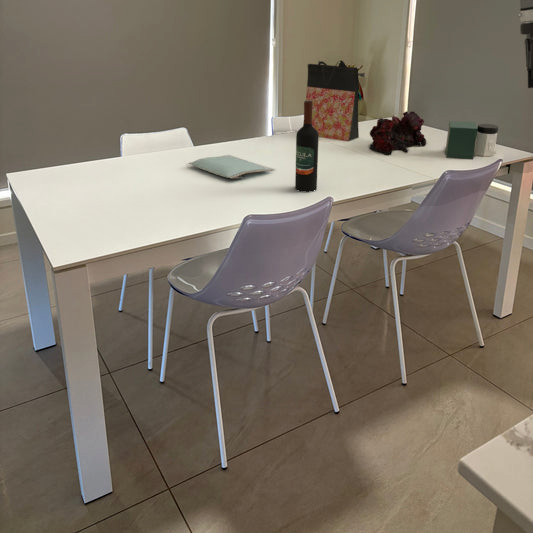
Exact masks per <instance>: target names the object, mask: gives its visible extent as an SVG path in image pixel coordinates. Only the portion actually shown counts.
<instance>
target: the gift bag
mask: <svg viewBox="0 0 533 533" xmlns="http://www.w3.org/2000/svg"><path fill="white" fill-rule="evenodd" d="M365 74H366V73H365V72H360V73H359V70H358V67H356V66H355V67H354V66H347V64H346V63H345V62H344V61H343V60H341V59H340V60H339V61H337V63H336V64H335V65H332V64H331V65H330V64H327V63H326V62H325V61H323V60H321V61H320V60H318V62H317V63H308V64H307V82H306V94H305V101H312V102H313V107H312V126H313V127H314V128H315V129H316V130H317V132H318V134H319V138H324V139H325V138H326V139H332V140H337V141H343V142H350V141H354V140H356V139H358V138H360V136H359V134H360V132H359V77H362V78H365ZM303 124H304V121H303V123H302V125H303Z"/></svg>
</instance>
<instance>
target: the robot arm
mask: <svg viewBox="0 0 533 533" xmlns="http://www.w3.org/2000/svg"><path fill="white" fill-rule="evenodd" d="M519 7H520V8H519V12H520V13H518V17H519V18H520V23H521V24H520V29H519V30H520V35H526V38H525V39H524V50H525V64H526V66H525V67H526V72H527V88H528V89H533V0H519Z"/></svg>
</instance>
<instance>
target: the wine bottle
mask: <svg viewBox="0 0 533 533" xmlns="http://www.w3.org/2000/svg"><path fill="white" fill-rule="evenodd" d="M312 107H313V102H312V101H306V100H304V101H303V122H304V124H303V123H302V127H299V129H298V130H297V131H296V134H295V135H296V136H295V178H294V180H295V182H294V185H295V186H294V190H296V191H297V190H299V191H298V192H301V191H306V192H305V193H310V192H309V191H312V192H315V191H317V189H318V166H319V163H318V162H319V139H320V137H319V134H318V132H317V130H316V129H315V128H314V127H313V126H312ZM314 190H315V191H314Z"/></svg>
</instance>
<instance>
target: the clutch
mask: <svg viewBox="0 0 533 533" xmlns="http://www.w3.org/2000/svg"><path fill="white" fill-rule="evenodd" d="M188 164H189V165H191V166H194V167H196V168H198V169H200V170H203V171H205V172H209V173H212V174H214V175H217V176H220V177H224V178H227V179H244V176H243V175H246V174H252V173H259V172H268V171H269V172H270V171H273V169H272V168H268V167H265V166H262V165H260V164H258V163H255V162H252V161H248V160H246V159H241V158H239V157H235V156H231V155H220V156H211V157H203V158H199V159H196V160H194V161H192V162H188Z"/></svg>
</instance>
